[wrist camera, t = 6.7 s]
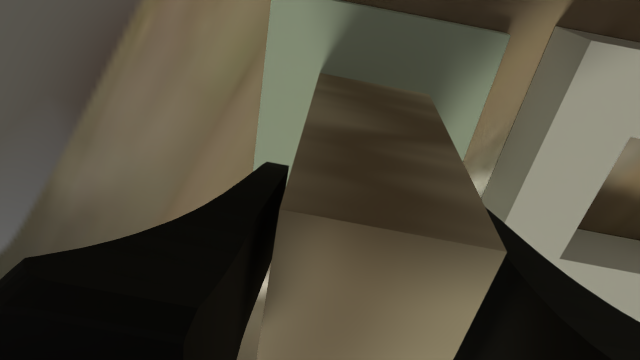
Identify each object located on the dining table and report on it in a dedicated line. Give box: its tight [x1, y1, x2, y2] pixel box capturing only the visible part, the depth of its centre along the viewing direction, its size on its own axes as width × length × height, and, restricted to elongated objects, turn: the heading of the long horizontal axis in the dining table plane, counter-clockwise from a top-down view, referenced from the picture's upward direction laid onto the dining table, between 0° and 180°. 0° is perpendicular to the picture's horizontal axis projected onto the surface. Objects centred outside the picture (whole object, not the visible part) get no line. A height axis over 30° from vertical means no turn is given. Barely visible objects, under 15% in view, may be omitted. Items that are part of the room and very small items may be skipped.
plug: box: [257, 73, 507, 360], centre depth 12 cm, size 4×4×9 cm
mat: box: [253, 0, 511, 186], centre depth 16 cm, size 8×9×1 cm
